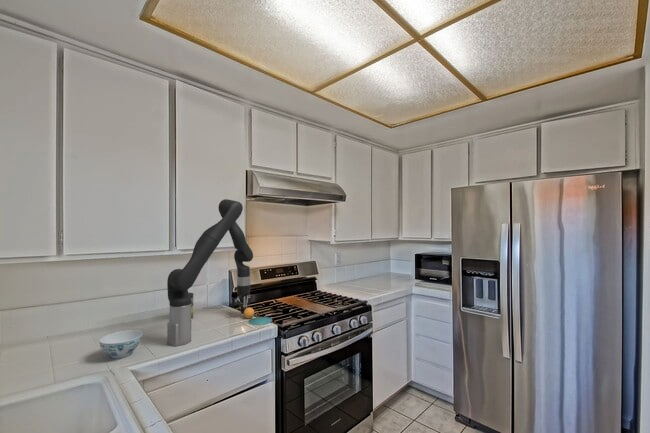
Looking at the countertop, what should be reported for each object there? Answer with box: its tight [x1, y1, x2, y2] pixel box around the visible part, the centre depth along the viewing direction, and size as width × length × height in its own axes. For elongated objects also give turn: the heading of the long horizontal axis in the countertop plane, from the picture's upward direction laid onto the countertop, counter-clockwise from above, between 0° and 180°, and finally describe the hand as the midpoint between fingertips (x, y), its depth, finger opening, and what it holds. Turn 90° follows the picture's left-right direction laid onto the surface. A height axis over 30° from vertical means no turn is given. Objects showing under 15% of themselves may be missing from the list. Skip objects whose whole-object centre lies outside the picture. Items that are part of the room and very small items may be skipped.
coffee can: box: [188, 292, 195, 320], centre depth 176 cm, size 10×10×14 cm
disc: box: [248, 316, 273, 326], centre depth 173 cm, size 13×13×1 cm
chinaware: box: [98, 329, 143, 359], centre depth 129 cm, size 15×15×8 cm
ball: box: [243, 307, 255, 319], centre depth 178 cm, size 6×6×6 cm
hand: (243, 313), depth 180 cm, fingers closed
